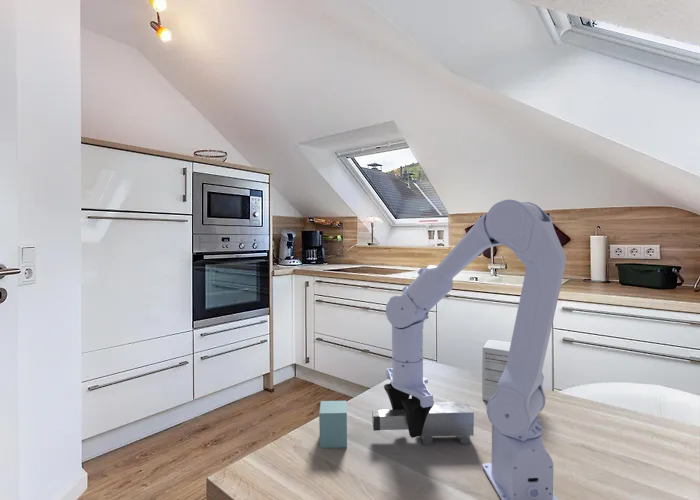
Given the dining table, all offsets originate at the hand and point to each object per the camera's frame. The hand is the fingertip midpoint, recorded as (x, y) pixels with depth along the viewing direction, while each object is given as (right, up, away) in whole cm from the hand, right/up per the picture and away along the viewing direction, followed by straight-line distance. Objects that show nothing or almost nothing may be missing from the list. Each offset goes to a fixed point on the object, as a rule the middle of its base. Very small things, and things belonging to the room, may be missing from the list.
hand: (407, 428), depth 73 cm
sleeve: (+7, -2, +1) cm, 7 cm away
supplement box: (+25, -1, +18) cm, 30 cm away
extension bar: (+2, 0, 0) cm, 2 cm away
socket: (-14, -2, 0) cm, 14 cm away
